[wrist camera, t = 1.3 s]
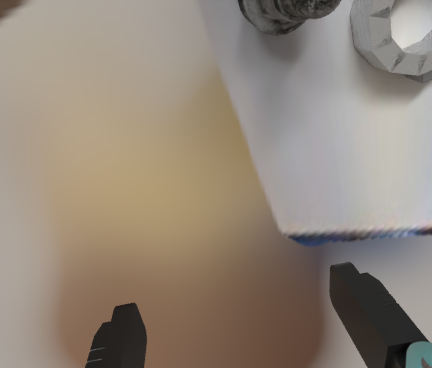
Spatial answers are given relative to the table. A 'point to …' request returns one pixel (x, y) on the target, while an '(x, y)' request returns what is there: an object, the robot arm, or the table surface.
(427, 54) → the ring
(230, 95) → the table surface
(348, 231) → the table surface
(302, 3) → the salt shaker
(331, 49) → the table surface
